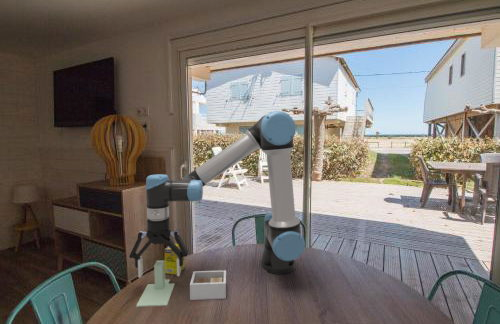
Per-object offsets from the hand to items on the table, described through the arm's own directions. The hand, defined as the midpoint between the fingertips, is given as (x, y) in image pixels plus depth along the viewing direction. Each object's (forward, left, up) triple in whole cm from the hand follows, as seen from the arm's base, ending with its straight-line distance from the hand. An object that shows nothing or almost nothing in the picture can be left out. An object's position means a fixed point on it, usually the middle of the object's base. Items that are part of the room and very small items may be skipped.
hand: (159, 275), depth 99 cm
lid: (0, +3, -5) cm, 6 cm away
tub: (-18, +4, -5) cm, 19 cm away
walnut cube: (-15, +4, -5) cm, 17 cm away
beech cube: (-21, +4, -5) cm, 21 cm away
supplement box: (-3, -12, -6) cm, 14 cm away
